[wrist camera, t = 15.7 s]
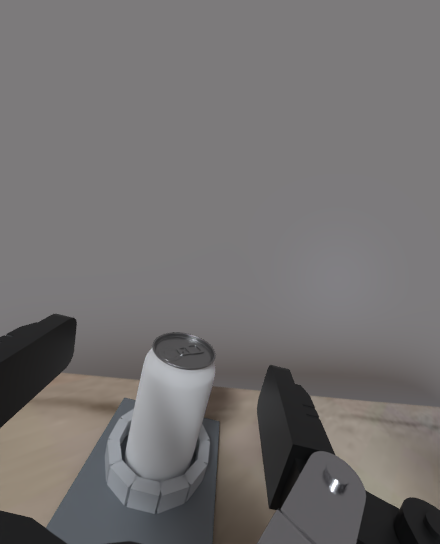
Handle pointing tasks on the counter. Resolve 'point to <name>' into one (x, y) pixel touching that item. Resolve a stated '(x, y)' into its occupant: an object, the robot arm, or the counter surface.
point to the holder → (139, 494)
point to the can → (170, 406)
